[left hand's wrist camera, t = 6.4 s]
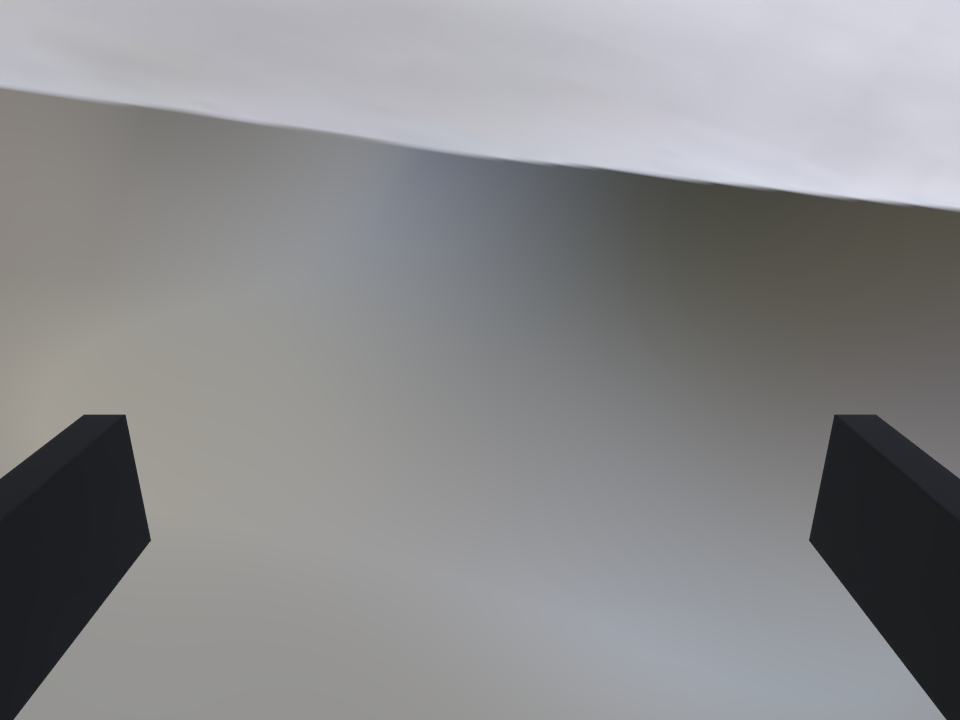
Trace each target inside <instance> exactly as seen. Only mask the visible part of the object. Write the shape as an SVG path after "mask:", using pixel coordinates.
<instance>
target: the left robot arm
mask: <svg viewBox="0 0 960 720" xmlns="http://www.w3.org/2000/svg"><path fill="white" fill-rule="evenodd" d="M150 541H151V539H150V534H149V529H148V524H147V519H146V514H145V509H144V504H143V499H142V494H141V489H140V484H139V479H138V475H137V469H136V465H135V460H134V455H133V450H132V445H131V440H130V435H129V430H128V425H127V420H126V415H83V416H82V417H80V418H79V419H78V420H76V421H75V422H74V423H73V424H71V425H70V426H69V427H67V428H66V429H65V430H64V431H62V432H61V433H60V434H58V435H57V436H56V437H54V438H53V439H52V440H50V441H49V442H48V443H46V444H45V445H44V446H43V447H41V448H40V449H39V450H37V451H36V452H35V453H33V454H32V455H31V456H30V457H28V458H27V459H26V460H24V461H23V462H22V463H20V464H19V465H18V466H17V467H15V468H14V469H13V470H11V471H10V472H9V473H7V474H6V475H5V476H3V477H2V478H1V479H0V720H14V718H15V717H16V716H17V714H18V713H19V712H20V710H21V709H22V708H23V707H24V705H25V704H26V703H27V701H28V700H29V699H30V697H31V696H32V695H33V694H34V692H35V691H36V690H37V688H38V687H39V686H40V684H41V683H42V682H43V680H44V679H45V678H46V677H47V675H48V674H49V673H50V671H51V670H52V669H53V667H54V666H55V665H56V663H57V662H58V661H59V660H60V658H61V657H62V656H63V654H64V653H65V652H66V650H67V649H68V648H69V647H70V645H71V644H72V643H73V641H74V640H75V639H76V637H77V636H78V635H79V634H80V632H81V631H82V630H83V628H84V627H85V626H86V624H87V623H88V622H89V620H90V619H91V618H92V617H93V615H94V614H95V613H96V611H97V610H98V609H99V607H100V606H101V605H102V603H103V602H104V601H105V600H106V598H107V597H108V596H109V594H110V593H111V592H112V590H113V589H114V588H115V587H116V585H117V584H118V583H119V581H120V580H121V579H122V577H123V576H124V575H125V573H126V572H127V571H128V570H129V568H130V567H131V566H132V564H133V563H134V562H135V560H136V559H137V558H138V557H139V555H140V554H141V553H142V551H143V550H144V549H145V547H146V546H147V545H148V543H149V542H150ZM809 541H810V542H811V543H812V545H813V546H814V547H815V549H816V550H817V551H818V553H819V554H820V555H821V557H822V558H823V559H824V560H825V562H826V563H827V564H828V566H829V567H830V568H831V569H832V571H833V572H834V574H835V575H836V576H837V577H838V579H839V580H840V581H841V583H842V584H843V585H844V586H845V588H846V589H847V590H848V592H849V593H850V594H851V596H852V597H853V598H854V600H855V601H856V602H857V603H858V605H859V606H860V607H861V609H862V610H863V611H864V613H865V614H866V615H867V617H868V618H869V619H870V620H871V622H872V623H873V624H874V626H875V627H876V628H877V629H878V631H879V632H880V634H881V635H882V636H883V637H884V639H885V640H886V641H887V643H888V644H889V645H890V647H891V648H892V649H893V650H894V652H895V653H896V654H897V656H898V657H899V658H900V660H901V661H902V662H903V663H904V665H905V666H906V667H907V669H908V670H909V671H910V673H911V674H912V675H913V677H914V678H915V679H916V680H917V682H918V683H919V684H920V686H921V687H922V688H923V690H924V691H925V692H926V693H927V695H928V696H929V697H930V699H931V700H932V701H933V703H934V704H935V705H936V707H937V708H938V709H939V710H940V712H941V713H942V714H943V716H944V717H945V718H946V720H960V479H959V478H958V477H957V476H955V475H954V474H953V473H951V472H950V471H949V470H947V469H946V468H945V467H943V466H942V465H941V464H940V463H938V462H937V461H936V460H934V459H933V458H932V457H930V456H929V455H928V454H927V453H925V452H924V451H923V450H921V449H920V448H919V447H917V446H916V445H915V444H914V443H912V442H911V441H910V440H908V439H907V438H906V437H904V436H903V435H902V434H900V433H899V432H898V431H897V430H895V429H894V428H893V427H891V426H890V425H889V424H887V423H886V422H885V421H883V420H882V419H881V418H880V417H878V416H877V415H834V420H833V425H832V430H831V435H830V440H829V445H828V450H827V455H826V460H825V465H824V470H823V474H822V479H821V485H820V489H819V494H818V499H817V504H816V509H815V514H814V519H813V524H812V529H811V534H810V539H809Z"/></svg>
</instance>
